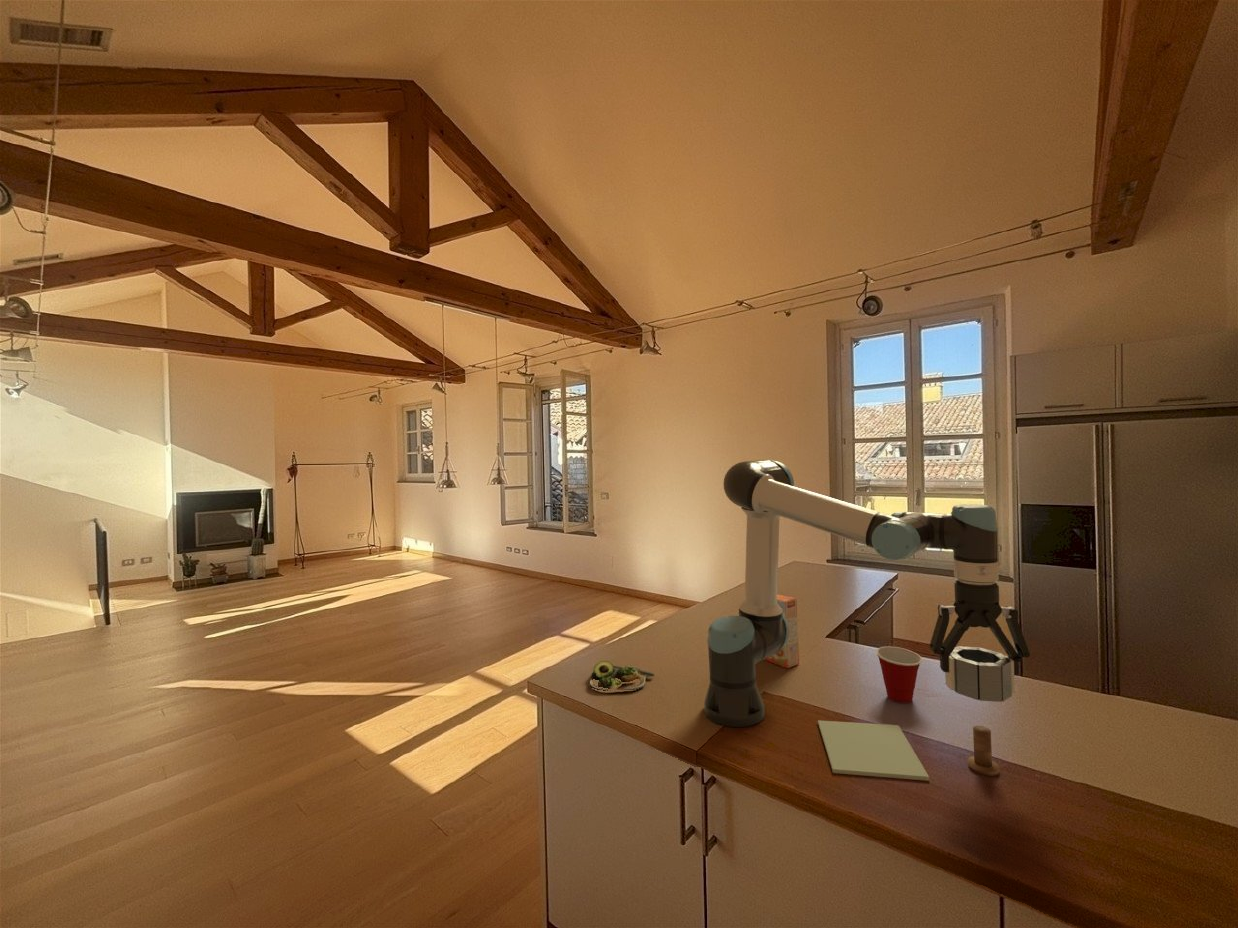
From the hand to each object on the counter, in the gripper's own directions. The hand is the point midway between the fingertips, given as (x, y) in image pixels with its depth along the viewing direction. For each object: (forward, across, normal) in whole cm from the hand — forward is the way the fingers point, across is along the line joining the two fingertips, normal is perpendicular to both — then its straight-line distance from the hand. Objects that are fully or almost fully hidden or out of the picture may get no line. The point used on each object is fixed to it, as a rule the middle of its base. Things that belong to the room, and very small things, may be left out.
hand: (979, 688), depth 107 cm
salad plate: (+18, -84, +32) cm, 92 cm away
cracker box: (+17, -37, +53) cm, 67 cm away
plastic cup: (+17, -7, +30) cm, 35 cm away
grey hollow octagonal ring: (0, 0, 0) cm, 0 cm away
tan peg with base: (+16, 0, 0) cm, 16 cm away
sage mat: (+17, -21, +4) cm, 27 cm away
